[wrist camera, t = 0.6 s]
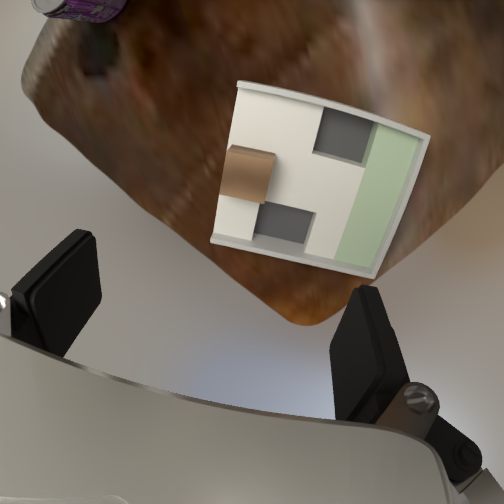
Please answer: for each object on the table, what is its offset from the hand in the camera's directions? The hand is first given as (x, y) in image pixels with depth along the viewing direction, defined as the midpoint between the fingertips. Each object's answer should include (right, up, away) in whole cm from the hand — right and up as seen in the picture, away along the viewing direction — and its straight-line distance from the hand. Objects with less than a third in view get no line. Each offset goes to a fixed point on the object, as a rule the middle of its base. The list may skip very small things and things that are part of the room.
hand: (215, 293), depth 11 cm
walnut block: (+1, +11, +26) cm, 28 cm away
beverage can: (-17, +34, +18) cm, 42 cm away
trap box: (+9, +11, +28) cm, 31 cm away
